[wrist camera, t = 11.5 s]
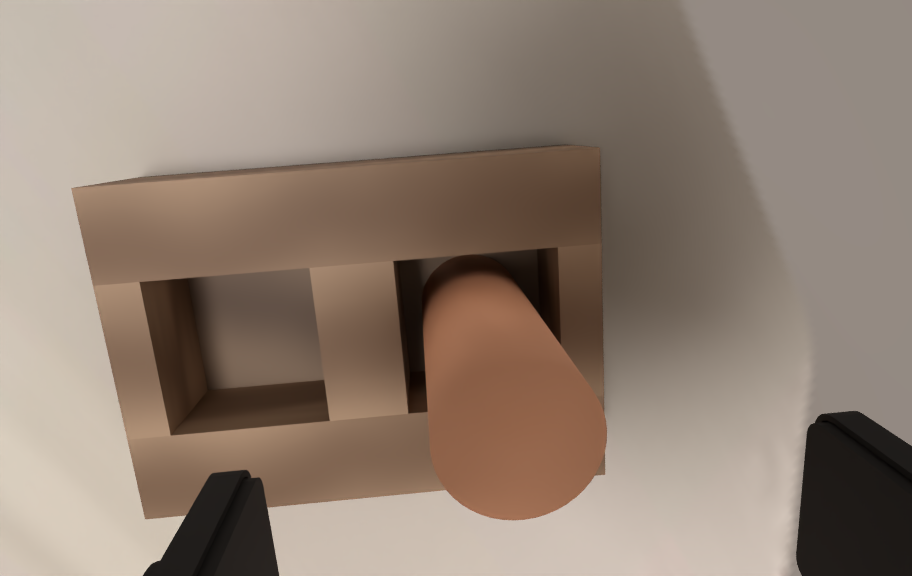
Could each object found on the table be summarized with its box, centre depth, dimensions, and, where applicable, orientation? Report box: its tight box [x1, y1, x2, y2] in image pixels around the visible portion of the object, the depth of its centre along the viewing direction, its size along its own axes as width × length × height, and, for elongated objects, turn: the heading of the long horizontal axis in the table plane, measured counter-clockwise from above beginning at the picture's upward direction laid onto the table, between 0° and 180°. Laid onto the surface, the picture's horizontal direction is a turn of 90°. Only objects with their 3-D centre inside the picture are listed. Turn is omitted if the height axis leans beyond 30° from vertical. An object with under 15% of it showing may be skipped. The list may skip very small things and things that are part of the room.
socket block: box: [71, 145, 605, 519], centre depth 24 cm, size 12×17×5 cm
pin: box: [421, 254, 607, 520], centre depth 20 cm, size 4×4×12 cm
